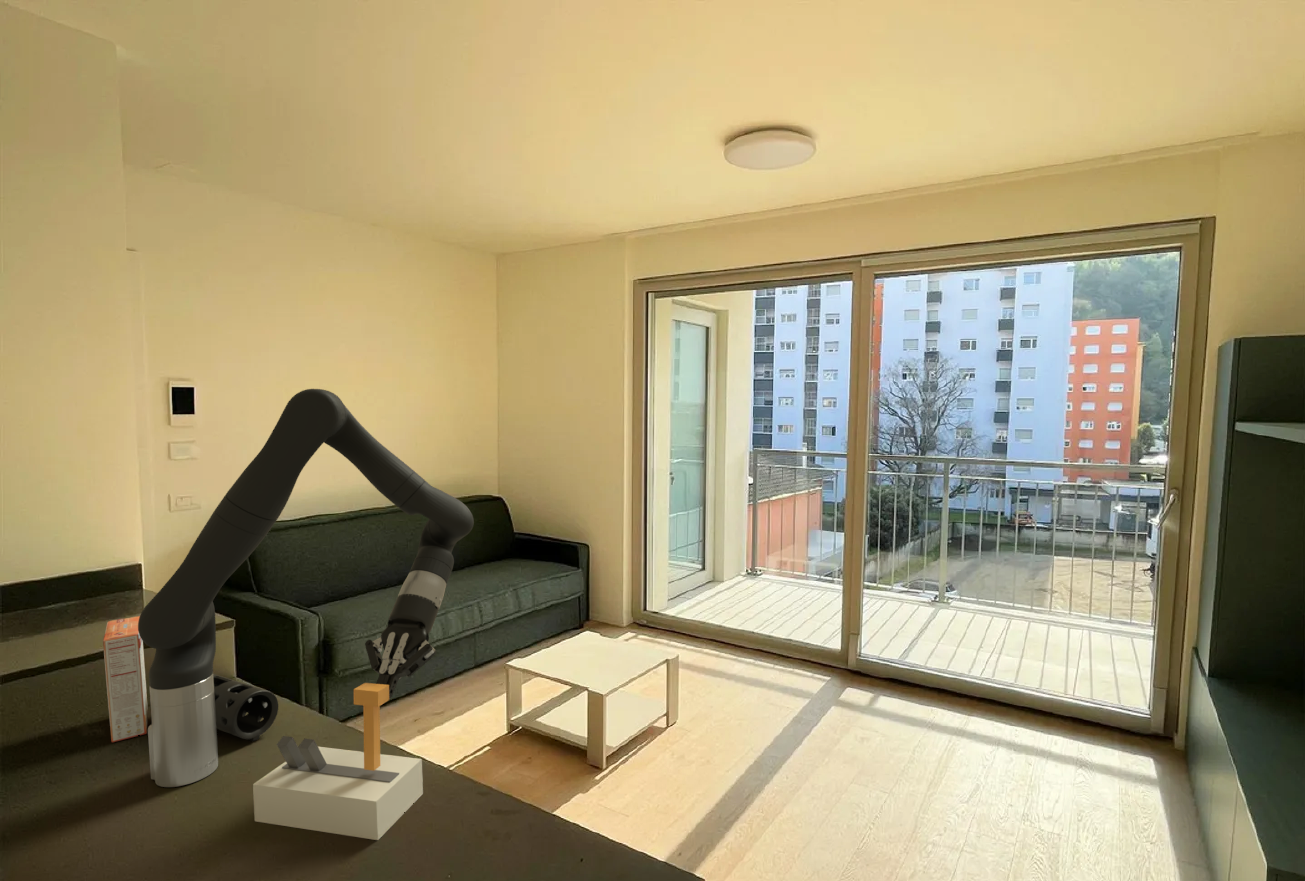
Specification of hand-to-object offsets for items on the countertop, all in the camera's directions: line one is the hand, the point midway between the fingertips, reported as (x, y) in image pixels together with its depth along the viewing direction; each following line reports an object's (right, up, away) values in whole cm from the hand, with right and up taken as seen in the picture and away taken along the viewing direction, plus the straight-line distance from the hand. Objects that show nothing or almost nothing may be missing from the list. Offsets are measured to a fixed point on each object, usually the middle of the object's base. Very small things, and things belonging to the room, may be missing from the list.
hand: (380, 699), depth 108 cm
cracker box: (-63, -17, +29) cm, 71 cm away
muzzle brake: (-45, -17, +28) cm, 56 cm away
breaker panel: (-6, -17, 0) cm, 19 cm away
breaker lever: (-1, -11, -2) cm, 11 cm away
